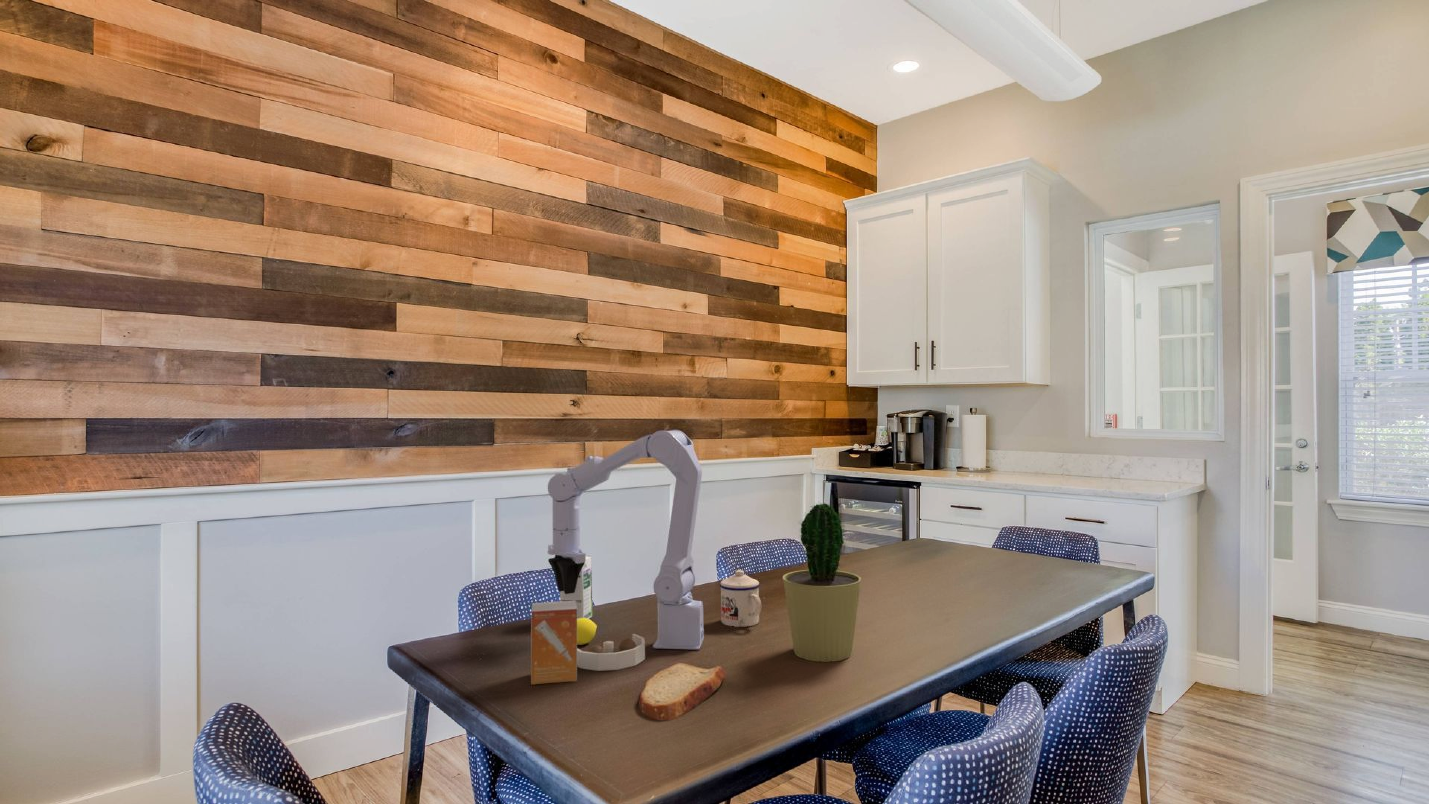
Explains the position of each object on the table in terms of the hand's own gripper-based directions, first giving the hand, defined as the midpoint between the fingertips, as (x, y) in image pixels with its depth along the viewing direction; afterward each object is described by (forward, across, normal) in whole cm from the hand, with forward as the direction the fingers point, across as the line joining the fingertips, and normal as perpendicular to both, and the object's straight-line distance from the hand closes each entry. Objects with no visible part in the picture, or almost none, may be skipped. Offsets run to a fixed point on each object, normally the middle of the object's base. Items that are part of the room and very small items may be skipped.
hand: (566, 591), depth 158 cm
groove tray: (+9, +19, 0) cm, 21 cm away
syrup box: (+10, -10, +7) cm, 16 cm away
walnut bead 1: (+9, +20, -3) cm, 22 cm away
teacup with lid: (+10, +16, +36) cm, 40 cm away
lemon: (+10, +7, 0) cm, 12 cm away
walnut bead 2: (+9, +20, +4) cm, 22 cm away
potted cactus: (+10, +42, +35) cm, 56 cm away
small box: (+10, +22, -13) cm, 27 cm away
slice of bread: (+10, +43, +1) cm, 44 cm away
